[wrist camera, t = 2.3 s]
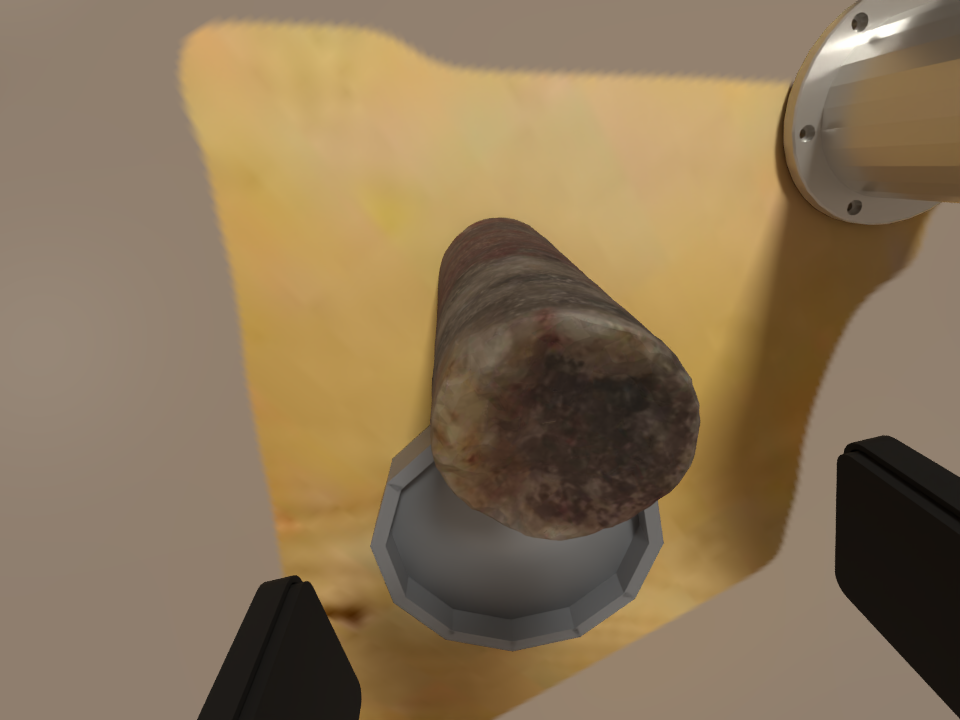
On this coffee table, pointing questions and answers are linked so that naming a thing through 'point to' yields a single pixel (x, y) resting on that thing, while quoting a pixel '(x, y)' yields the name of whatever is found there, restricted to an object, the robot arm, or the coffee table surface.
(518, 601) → the round tray
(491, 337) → the mottled brown cylinder
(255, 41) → the coffee table surface
